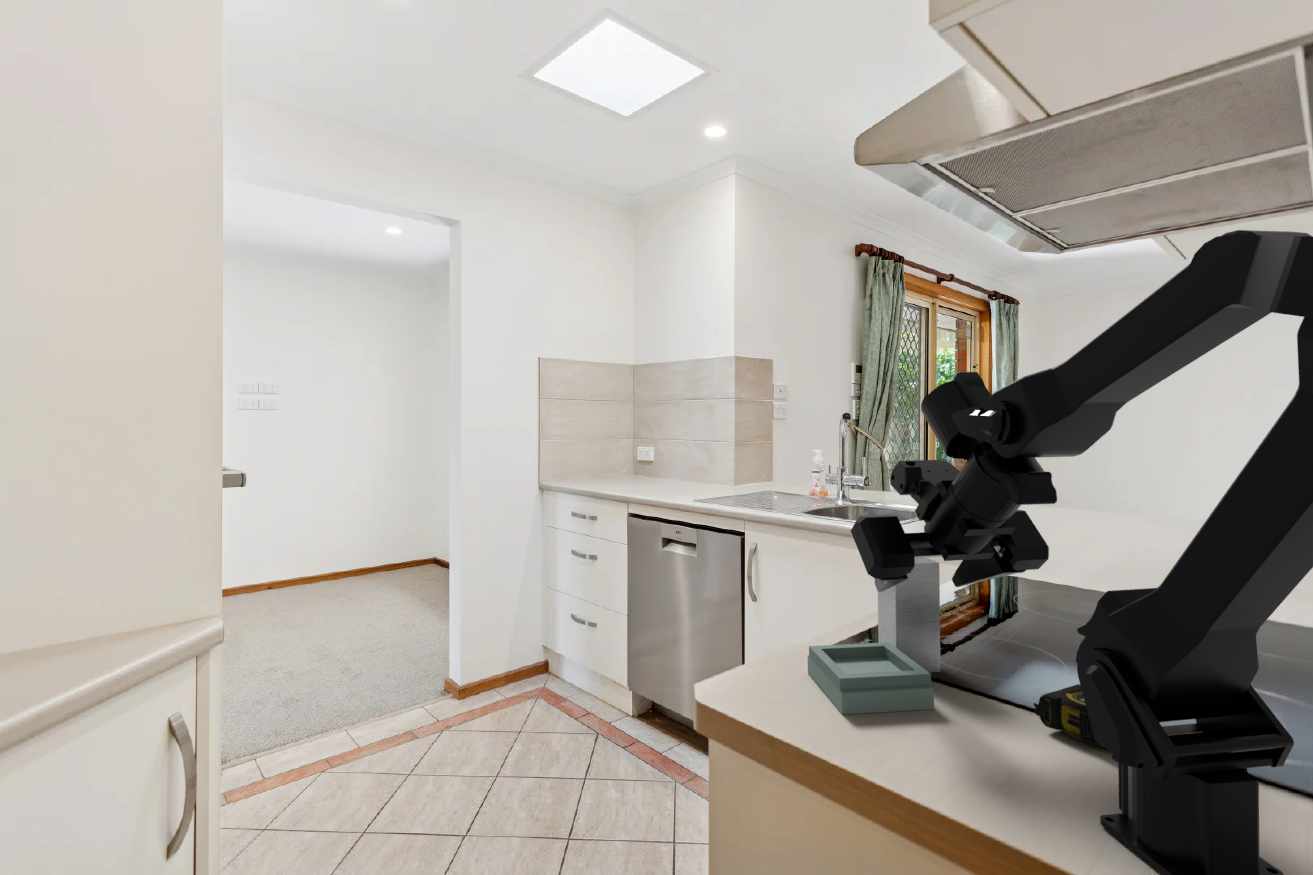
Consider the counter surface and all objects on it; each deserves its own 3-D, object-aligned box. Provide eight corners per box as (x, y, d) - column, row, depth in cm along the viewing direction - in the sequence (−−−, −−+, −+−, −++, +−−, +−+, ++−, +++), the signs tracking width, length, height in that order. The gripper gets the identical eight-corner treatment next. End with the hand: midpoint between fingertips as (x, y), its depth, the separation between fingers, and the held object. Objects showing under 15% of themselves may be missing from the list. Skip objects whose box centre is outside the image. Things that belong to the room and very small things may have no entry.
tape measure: (1083, 714, 59) (1082, 674, 59) (1167, 747, 52) (1166, 703, 52) (1033, 729, 56) (1033, 687, 56) (1116, 766, 50) (1115, 719, 50)
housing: (940, 671, 69) (939, 548, 69) (896, 673, 69) (895, 549, 69) (919, 656, 74) (918, 540, 73) (878, 658, 73) (877, 542, 73)
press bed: (933, 709, 60) (933, 675, 60) (842, 714, 59) (841, 680, 59) (887, 669, 70) (886, 640, 70) (807, 673, 69) (807, 644, 69)
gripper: (1028, 432, 65) (961, 522, 76) (858, 436, 62) (814, 529, 73) (1091, 519, 57) (1007, 605, 69) (902, 528, 55) (846, 616, 66)
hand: (916, 585), depth 69 cm, fingers open, 9 cm apart
